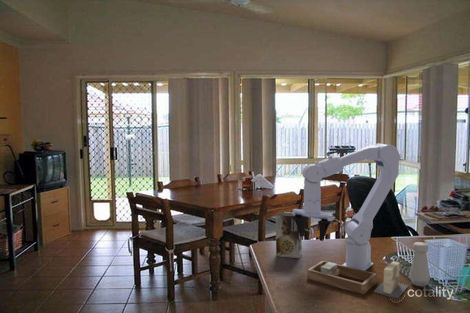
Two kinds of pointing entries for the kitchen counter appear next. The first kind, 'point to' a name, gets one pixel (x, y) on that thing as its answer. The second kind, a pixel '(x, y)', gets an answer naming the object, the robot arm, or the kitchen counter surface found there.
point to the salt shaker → (420, 265)
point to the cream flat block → (391, 277)
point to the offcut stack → (330, 269)
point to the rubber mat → (395, 294)
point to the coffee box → (287, 236)
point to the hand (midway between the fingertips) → (312, 238)
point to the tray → (339, 282)
